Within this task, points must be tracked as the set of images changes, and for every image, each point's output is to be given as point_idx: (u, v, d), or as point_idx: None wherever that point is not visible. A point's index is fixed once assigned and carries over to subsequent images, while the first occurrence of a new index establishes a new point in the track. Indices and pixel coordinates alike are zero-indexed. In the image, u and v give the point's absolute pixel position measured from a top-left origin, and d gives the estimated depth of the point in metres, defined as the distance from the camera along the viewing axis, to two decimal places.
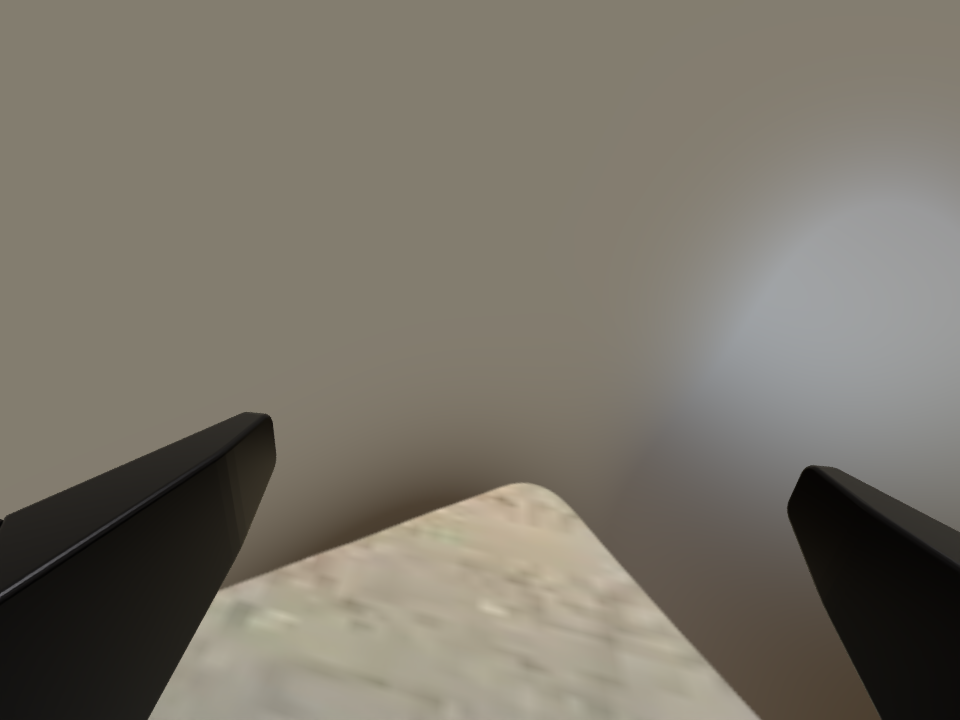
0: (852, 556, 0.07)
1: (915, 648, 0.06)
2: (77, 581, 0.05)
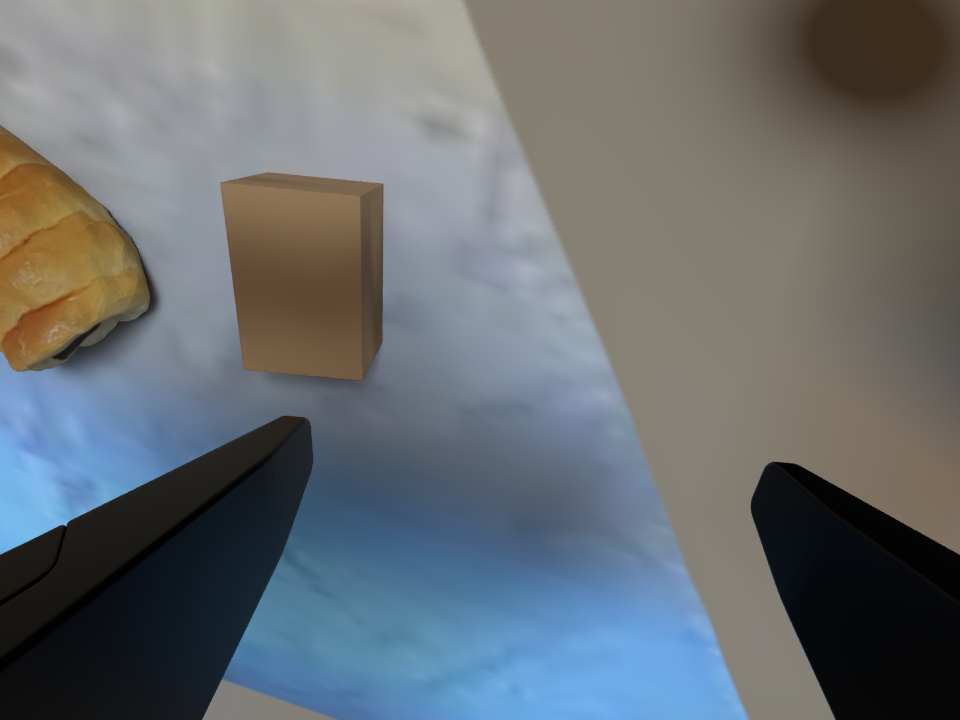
0: (808, 552, 0.07)
1: (864, 643, 0.06)
2: (143, 587, 0.05)
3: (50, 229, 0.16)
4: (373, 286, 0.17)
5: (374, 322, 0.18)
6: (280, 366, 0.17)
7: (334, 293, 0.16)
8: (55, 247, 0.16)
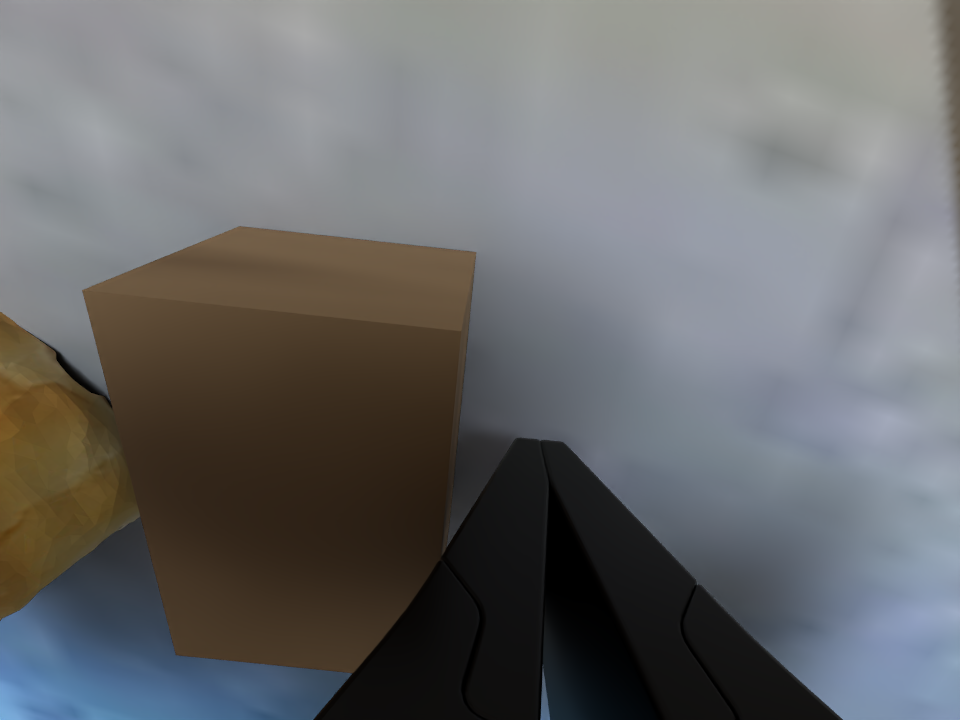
0: None
1: (556, 615, 0.06)
2: None
3: None
4: (452, 470, 0.08)
5: (447, 527, 0.09)
6: (253, 652, 0.08)
7: (378, 533, 0.07)
8: None
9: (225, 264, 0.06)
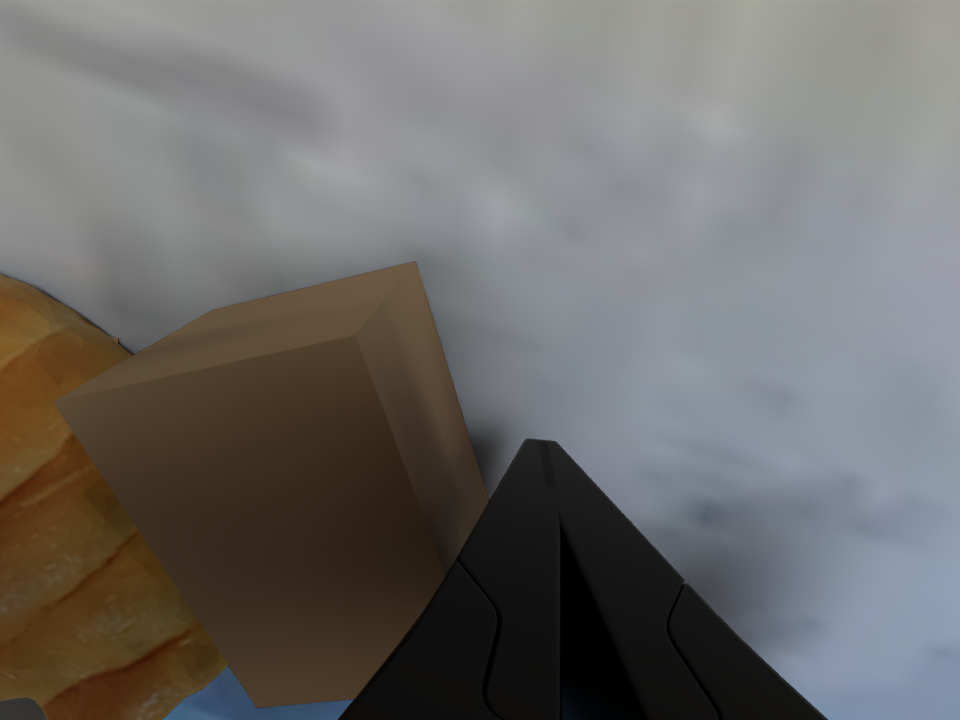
0: None
1: None
2: None
3: None
4: (452, 473, 0.08)
5: None
6: (319, 691, 0.08)
7: (373, 549, 0.07)
8: None
9: (179, 344, 0.07)
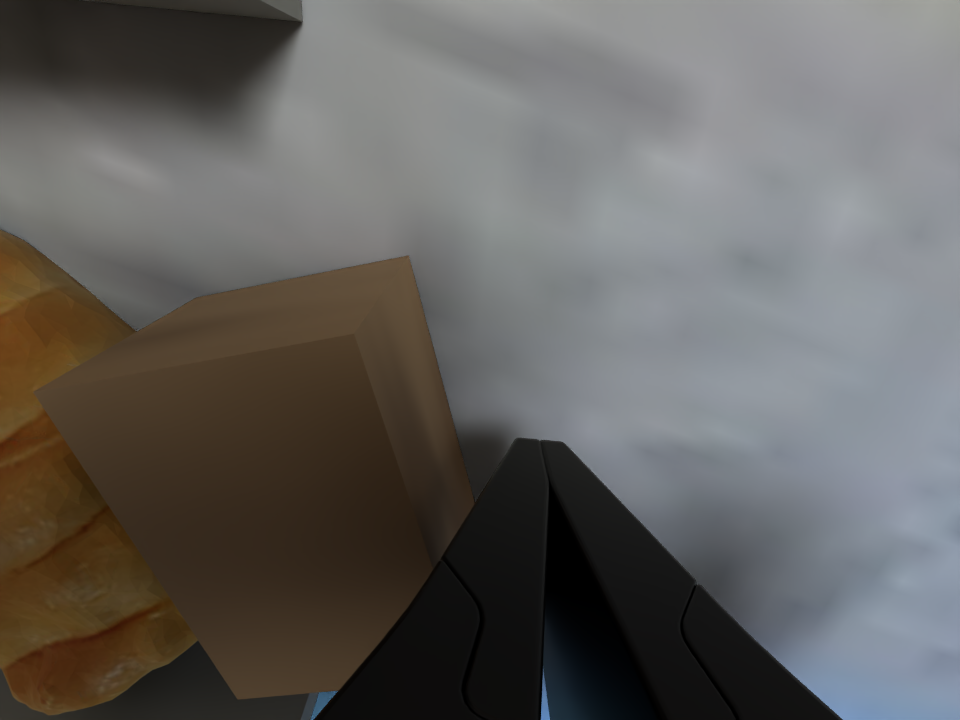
0: None
1: (556, 615, 0.06)
2: None
3: None
4: (441, 469, 0.08)
5: None
6: (302, 683, 0.08)
7: (363, 545, 0.07)
8: None
9: (166, 335, 0.07)
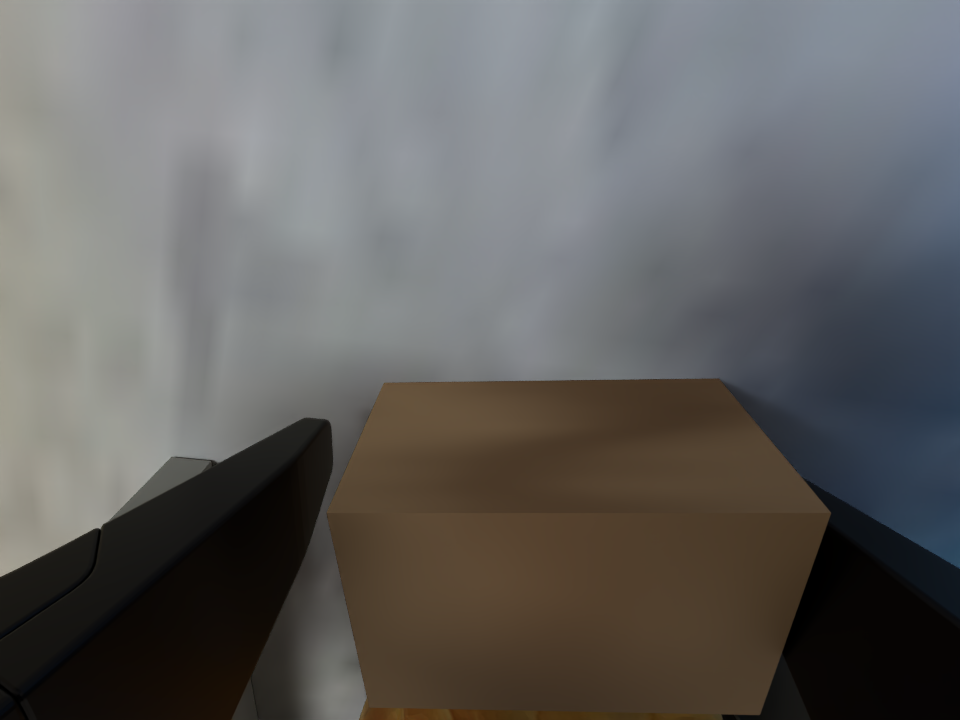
0: None
1: (836, 641, 0.06)
2: (179, 590, 0.05)
3: None
4: (572, 430, 0.08)
5: (663, 425, 0.08)
6: (760, 662, 0.07)
7: (568, 563, 0.06)
8: (570, 716, 0.09)
9: None
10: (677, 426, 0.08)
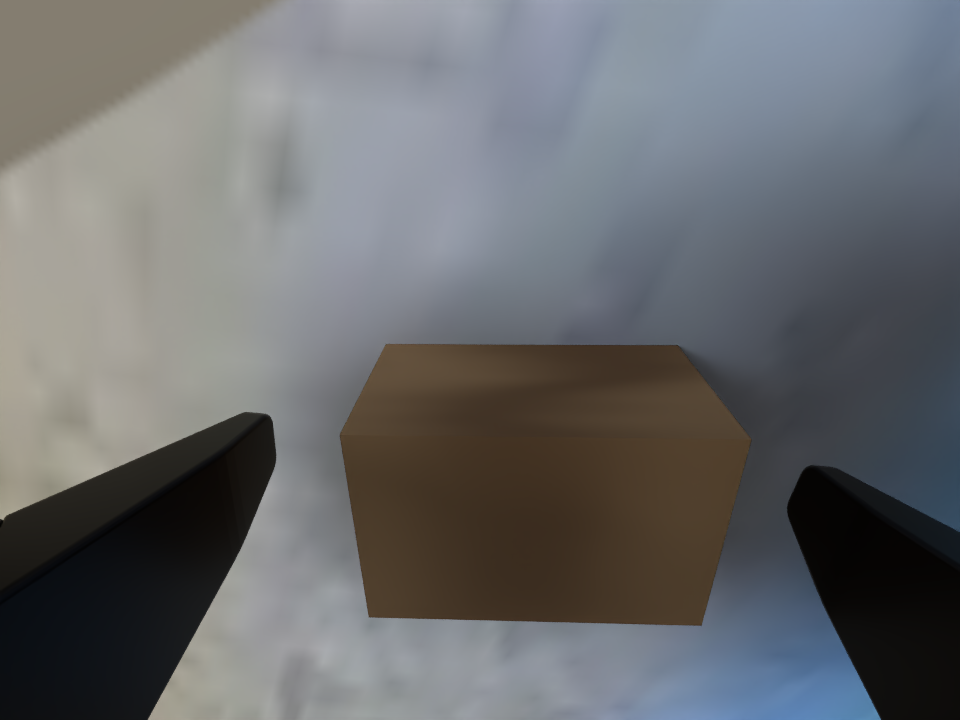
0: (852, 556, 0.07)
1: (915, 648, 0.06)
2: (77, 581, 0.05)
3: None
4: (547, 380, 0.09)
5: (625, 378, 0.09)
6: (699, 575, 0.08)
7: (539, 482, 0.08)
8: None
9: None
10: (636, 379, 0.09)
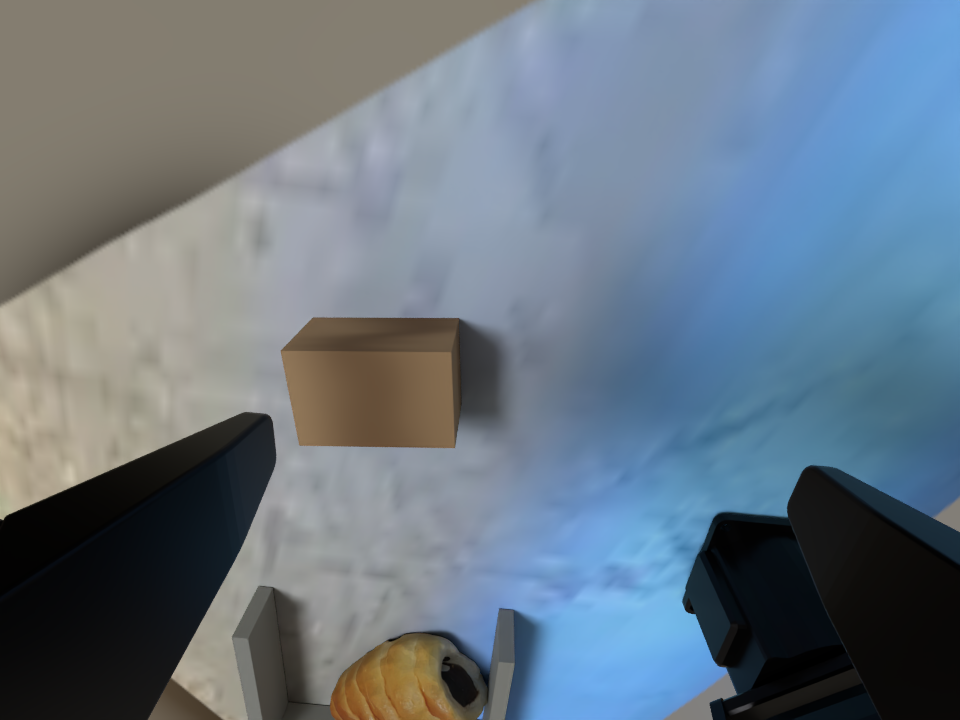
0: (852, 556, 0.07)
1: (915, 648, 0.06)
2: (77, 581, 0.05)
3: (385, 682, 0.27)
4: (382, 332, 0.19)
5: (419, 331, 0.19)
6: (447, 419, 0.18)
7: (367, 372, 0.18)
8: (393, 685, 0.27)
9: None
10: (424, 331, 0.19)
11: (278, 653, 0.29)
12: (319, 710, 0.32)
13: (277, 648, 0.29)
